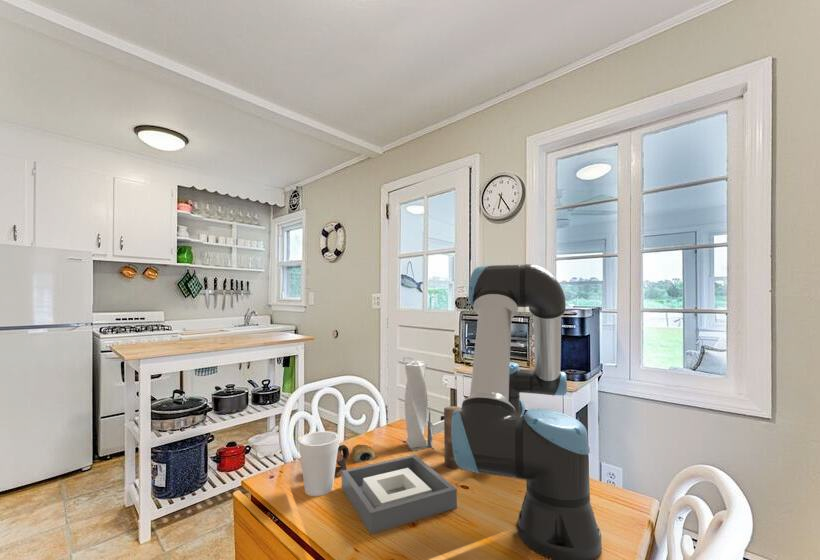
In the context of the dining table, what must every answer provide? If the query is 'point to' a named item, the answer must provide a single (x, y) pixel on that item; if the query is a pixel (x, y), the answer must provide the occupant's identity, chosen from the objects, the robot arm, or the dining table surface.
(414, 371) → the skyscraper
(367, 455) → the pastry
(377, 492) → the bore plate
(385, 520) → the open box
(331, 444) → the foam cup
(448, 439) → the walnut peg
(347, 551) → the dining table surface
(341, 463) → the pottery mug
